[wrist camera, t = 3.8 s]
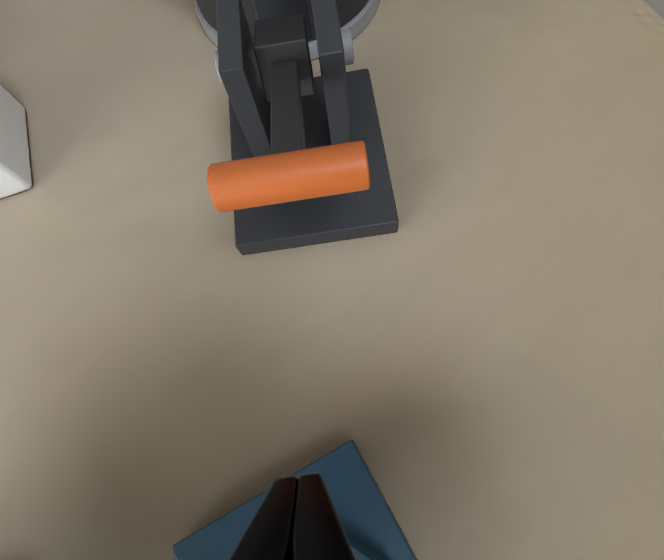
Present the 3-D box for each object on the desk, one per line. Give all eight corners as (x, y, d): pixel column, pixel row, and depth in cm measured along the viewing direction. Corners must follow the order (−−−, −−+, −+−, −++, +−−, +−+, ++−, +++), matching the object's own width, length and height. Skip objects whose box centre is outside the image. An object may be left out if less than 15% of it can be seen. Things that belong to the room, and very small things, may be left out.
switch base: (397, 232, 25) (411, 109, 16) (242, 255, 25) (167, 149, 16) (368, 83, 29) (366, -84, 20) (234, 105, 29) (170, -49, 20)
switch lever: (372, 208, 15) (367, 147, 13) (224, 231, 15) (199, 173, 13) (340, 60, 21) (334, 6, 19) (239, 77, 22) (223, 25, 20)
